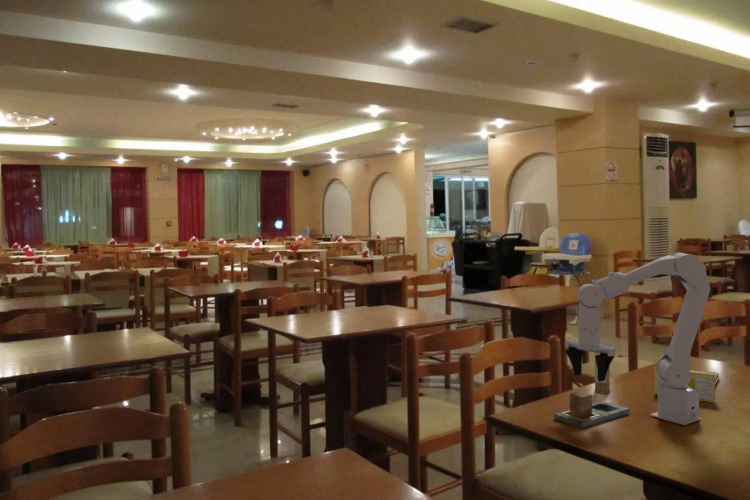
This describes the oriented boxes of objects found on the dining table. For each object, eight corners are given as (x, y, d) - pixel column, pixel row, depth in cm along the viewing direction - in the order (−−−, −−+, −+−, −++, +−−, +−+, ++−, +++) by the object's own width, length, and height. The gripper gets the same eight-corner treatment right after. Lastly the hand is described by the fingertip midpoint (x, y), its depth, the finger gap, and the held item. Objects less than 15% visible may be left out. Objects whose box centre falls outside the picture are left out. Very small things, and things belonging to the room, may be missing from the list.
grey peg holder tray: (629, 413, 166) (629, 407, 166) (582, 428, 155) (582, 422, 155) (600, 405, 173) (600, 400, 173) (554, 419, 162) (554, 413, 162)
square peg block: (591, 420, 161) (592, 394, 160) (582, 423, 159) (582, 397, 158) (579, 416, 164) (579, 391, 164) (569, 419, 162) (569, 393, 162)
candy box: (715, 402, 176) (716, 373, 176) (714, 403, 174) (714, 375, 174) (655, 392, 186) (656, 366, 186) (653, 394, 184) (654, 367, 184)
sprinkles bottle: (613, 392, 187) (613, 348, 186) (603, 394, 184) (604, 350, 184) (600, 388, 191) (600, 346, 190) (591, 391, 188) (591, 348, 187)
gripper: (558, 326, 169) (558, 374, 170) (603, 333, 157) (603, 385, 158) (574, 323, 173) (574, 370, 174) (620, 330, 161) (619, 381, 162)
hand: (589, 377), depth 166 cm, fingers open, 7 cm apart
